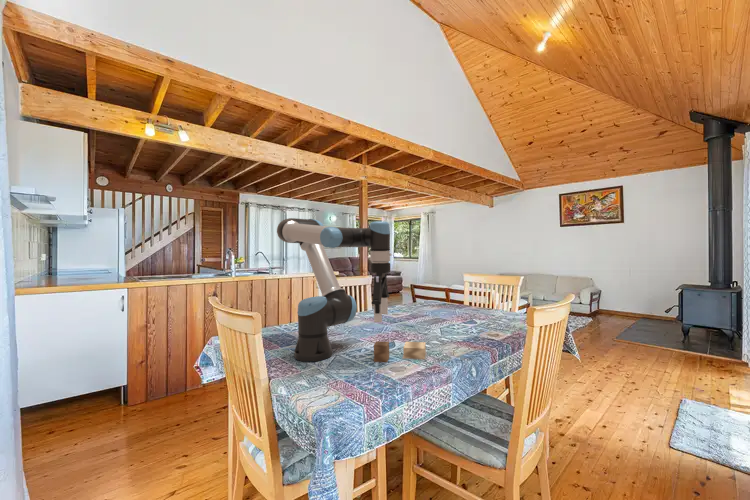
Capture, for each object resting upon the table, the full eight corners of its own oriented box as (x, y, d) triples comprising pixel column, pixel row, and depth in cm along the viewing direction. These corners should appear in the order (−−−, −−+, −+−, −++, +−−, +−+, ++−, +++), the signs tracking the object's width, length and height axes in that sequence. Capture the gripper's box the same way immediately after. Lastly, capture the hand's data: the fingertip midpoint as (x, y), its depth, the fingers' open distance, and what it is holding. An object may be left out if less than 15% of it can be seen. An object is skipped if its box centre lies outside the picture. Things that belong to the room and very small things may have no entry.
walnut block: (374, 363, 122) (373, 345, 122) (376, 359, 127) (376, 341, 127) (387, 364, 121) (386, 345, 121) (389, 359, 126) (389, 341, 125)
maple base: (403, 358, 125) (403, 347, 125) (405, 351, 133) (405, 341, 133) (424, 359, 123) (424, 348, 123) (425, 352, 131) (425, 342, 131)
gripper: (384, 264, 111) (385, 326, 111) (394, 260, 135) (395, 311, 135) (363, 264, 112) (364, 325, 112) (376, 260, 136) (377, 311, 137)
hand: (381, 317), depth 124 cm, fingers open, 13 cm apart
